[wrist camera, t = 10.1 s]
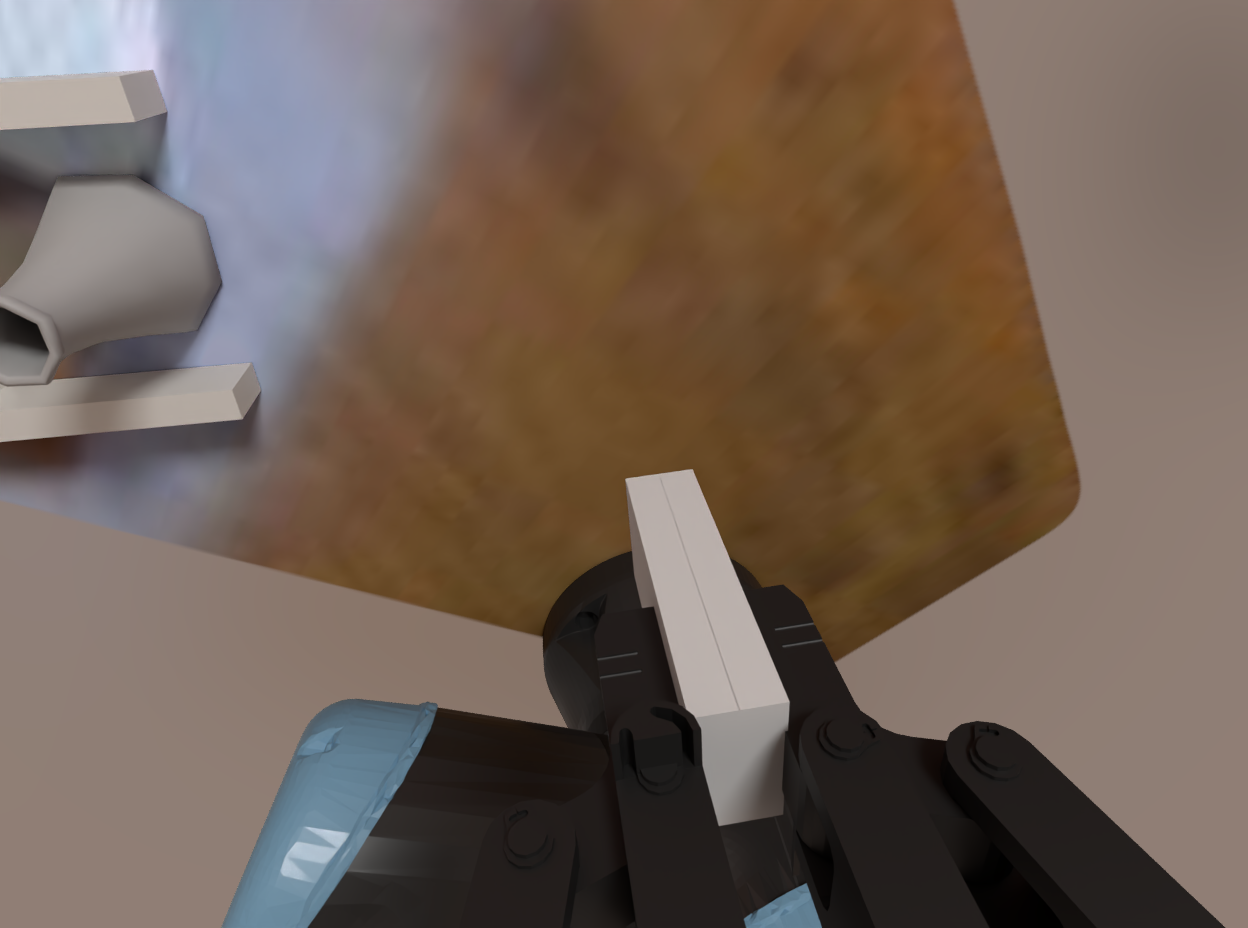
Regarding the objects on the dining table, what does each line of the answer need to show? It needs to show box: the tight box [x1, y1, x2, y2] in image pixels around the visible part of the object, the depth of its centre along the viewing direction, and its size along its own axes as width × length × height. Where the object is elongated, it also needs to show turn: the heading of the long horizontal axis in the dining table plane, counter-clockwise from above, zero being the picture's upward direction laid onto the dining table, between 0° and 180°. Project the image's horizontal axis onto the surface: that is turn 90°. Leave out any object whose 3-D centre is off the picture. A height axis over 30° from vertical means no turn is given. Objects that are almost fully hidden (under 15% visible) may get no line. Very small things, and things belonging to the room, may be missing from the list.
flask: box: [0, 175, 222, 387], centre depth 28 cm, size 7×7×10 cm
